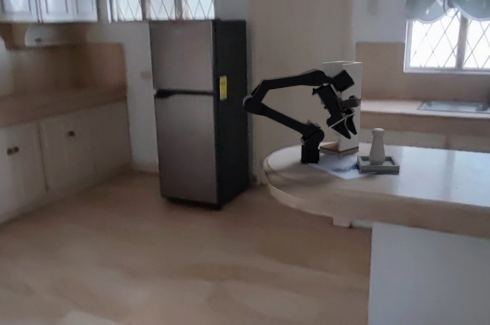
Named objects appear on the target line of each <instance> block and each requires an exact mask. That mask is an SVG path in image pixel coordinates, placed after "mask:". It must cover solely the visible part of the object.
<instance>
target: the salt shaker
mask: <svg viewBox="0 0 490 325" xmlns="http://www.w3.org/2000/svg"><path fill="white" fill-rule="evenodd" d="M385 132H386V131H385V129H383V128H379V127H377V128H373V129H372V130H371V135H372V136H373V138H372V142H371V146H370V150H369V151H370V152H369V155H368V156H369V161H370V164H371V165H383V163H384V161H385V158H386V157H385V156H386V153H385V146H384V138H383V137H385Z"/></svg>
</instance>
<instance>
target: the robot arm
mask: <svg viewBox="0 0 490 325" xmlns="http://www.w3.org/2000/svg"><path fill="white" fill-rule="evenodd" d="M323 84H328V85H326V86H324V85H323ZM331 85H332V86H333V88H334V89H335V91H336V92H338V91H339V92H340V93H342V92H344V91H345V90H347V89H348V88H350V87H352V86H353V85H355V83H354V81H353V79H352V77H350V75H349V74H348V73H347V71H346V70H345V69H343V70H341V71H340V72H339V73H338V74H336V75H334V76H333V77H331V76H329V75H328V76H327V75H326V74H325V73H324V72H323V71H322V70H321V69H320V68H315V67H314V68H311V69H308V70H306V71H302V72H300V73H298V74H291V75H285V76H279V77H271V78H263V79H260V81H259V83H258V84H257V86H256V87H255V88H254V89H253V90H252V91H251V93H249V94H248V95H247V94H246V96H245V97H244V98H243V100H242V105H243V107H244V111H246V112H247V113H248V114H252V115H257V116H261V117H266V118H268V119H269V120H272V121H273V122H277V123H278V124H280V125H283V126H285V127H287V128H289V129H291V130H293V131H295V132H297V133H299V134H300V135H301V137H300V141H301V145H300V146H301V147H300V150H301V151H300V153H301V154H300V164H303V165H304V164H308V163H316V164H315V165H318V164H319V163H320V160H321V158H320V156H321V151H320V146H321V145H320V144H321V142H323V141H324V139H325V136H326V134H325V131H324V130H323V129H322V128H321V127H322V126H320V124H318V122H313V121H312V120H310V119H307V121H301V120H299V119H298V118H295V117H292V116H290V115H289V114H286V113H284V112H282V111H281V110H278V109H276V108H273V107H272V106H269V105H268V104H267V103H266V102H264V99H265V97H266V96H267V94H268V92H269V91H271V90H278V89H284V88H285V89H287V88H291V87H298V86H306V87H312V88H311V89H312V92H311V97H314V96H315V95H317V96H318V99H320V102H321V101H322V103H323V104H324V106H325V107H324V108H323V109H324V110H327V112H328V115H331V116H330V118H329V117H327V119H326V120H325V123H326V126H327V127H328V128H329V127H330V126H332V125H334V126H332V127H331V129H334V130H335V131H337V132H338V133H340V134H341V135H343V136H344V137H346V138H347V139H351V135H350V133H349V131H350V132H351V133H353V134H354V135H356V134H357V131H356V127H355V124H354V121H353V118H354V115H355V113H354V112H355V111H354V109H353V108H354V107H358V106H360V105H359V99H358V97H356V96H355V95H352V96H349V99H347V100H342V98H338V96H337V95H336V93H335V92H334V90H333V88H332V87H331ZM315 87H317V88H315ZM352 107H353V108H352ZM353 113H354V114H353ZM351 114H353V115H351ZM348 130H349V131H348ZM317 163H318V164H317Z"/></svg>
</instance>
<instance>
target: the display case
mask: <svg viewBox="0 0 490 325" xmlns="http://www.w3.org/2000/svg"><path fill="white" fill-rule="evenodd" d="M363 63H364V62H361V61H348V60H347V61H346V60H339V61H337V60H336V61H328V62H321V67H320V68H321V69H320V70H322V71H323V72H324V73H325V74H326V75H327V76H328V75H329V76H331V77H333V76H334V75H336V74H338V73H339V72H340V71H341V70H343V69H345V70H346V71H347V73H348V74H349V75H350V77H352V79H353V81H354V83H355V85H353V86H352V87H350V88H348V89H347V90H345V91H344V92H342V93H340V92H339V91H338V92H336V91H335V89H334V88H333V86H332V85H331V87H332V88H333V90H334V92H335V93H336V95H337V96H338V98H342V100H347V99H349V96H352V95H355V96H356V97H358V99H359V105H360V106H358V107H354V108H353V107H352V108H353V109H354V111H355V112H354V113H355V115H354V118H353V121H354V124H355V127H356V131H357V134H356V135H354V134H353V133H351V132H350V131H349V130H348V131H349V133H350V135H351V139H347V138H346V137H344V136H343V135H341V134H340V133H338V132H337V131H335V130H334V129H331V127H332V126H334V125H332V126H330V127H328V128H329V130H330V132H331V133H332V134H334V135H335V136H337V137H338V141H336V142H335V141H334V142H330V143H327V144H323V145H319V149H320V153H326V154H330V155H332V156H333V155H334V156H337V157H342V156H346V155H349V154H350V155H351V154H353V153H357V152H359V151H360V150H359V148H360V131H361V130H360V128H361V126H360V125H361V112H362V111H361V108H362V106H361V105H362V84H363V67H364V65H363ZM323 85H324V86H326V85H328V84H323ZM324 107H325V106H324V104H323V103H322V101H321V100H320V108H322V109H324ZM354 113H353V114H354ZM353 114H351V115H353ZM328 115H329V117H328V118H330V116H331V115H330V114H328Z"/></svg>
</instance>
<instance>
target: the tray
mask: <svg viewBox="0 0 490 325" xmlns="http://www.w3.org/2000/svg"><path fill="white" fill-rule="evenodd" d="M385 157H386V158H385V161H384V163H383V165H371V164H370V161H369V155H356V162H357V166H358V165H359V166H358V168H360V169H359V170H360V171H361V172H360V171H359V172H360V173H367V172H380V174H383V173H384V174H387V173H388V174H391V173H392V174H399V173H400V167H401V166H400V164H399V163H398V161H397V160H396V158H395V156H394V155H385Z"/></svg>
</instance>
